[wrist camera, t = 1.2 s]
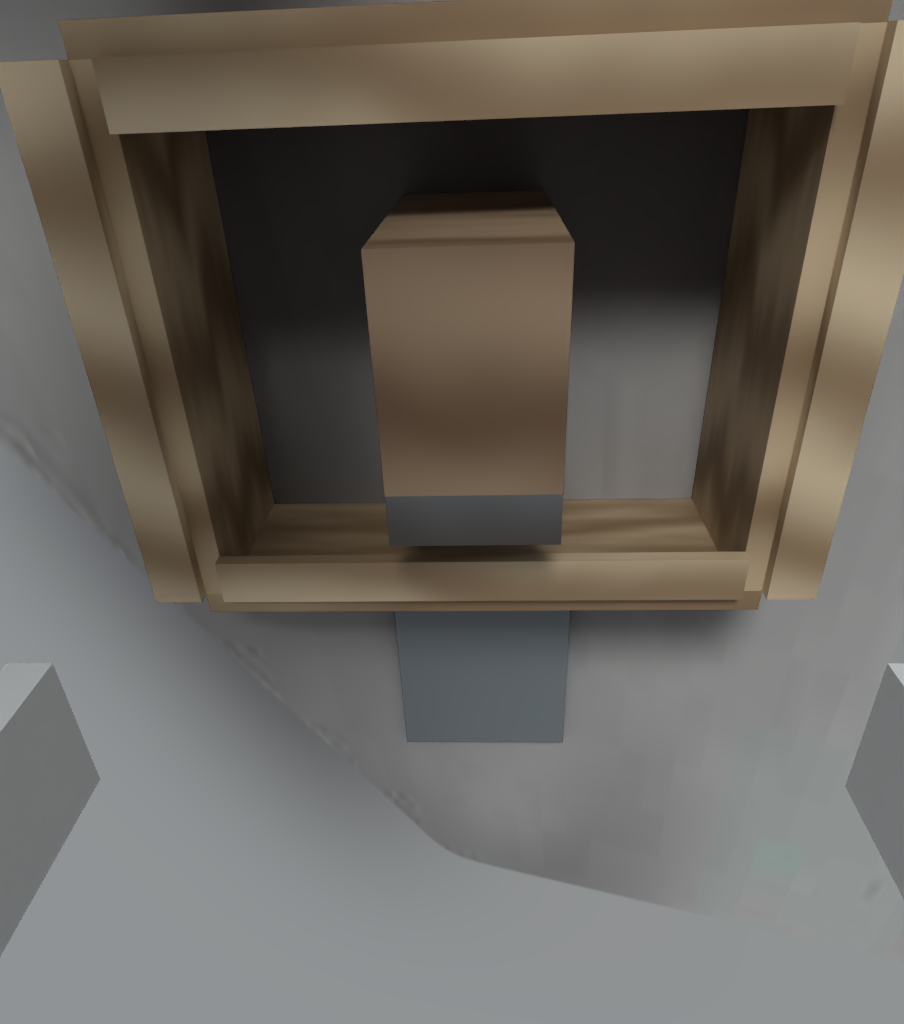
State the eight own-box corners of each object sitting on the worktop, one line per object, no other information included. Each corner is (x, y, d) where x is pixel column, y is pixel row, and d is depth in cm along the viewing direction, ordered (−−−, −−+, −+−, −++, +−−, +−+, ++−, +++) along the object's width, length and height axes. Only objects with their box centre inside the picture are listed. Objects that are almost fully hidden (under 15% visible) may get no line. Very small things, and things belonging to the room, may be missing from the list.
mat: (389, 542, 40) (388, 547, 39) (572, 540, 39) (573, 545, 39) (407, 735, 47) (407, 741, 47) (561, 736, 47) (562, 742, 46)
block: (402, 195, 31) (361, 249, 20) (544, 190, 30) (574, 242, 20) (417, 413, 36) (389, 546, 26) (539, 411, 36) (560, 544, 25)
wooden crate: (112, 39, 28) (-20, 21, 21) (847, 3, 27) (984, -28, 19) (222, 520, 39) (161, 620, 32) (747, 514, 38) (810, 618, 31)
